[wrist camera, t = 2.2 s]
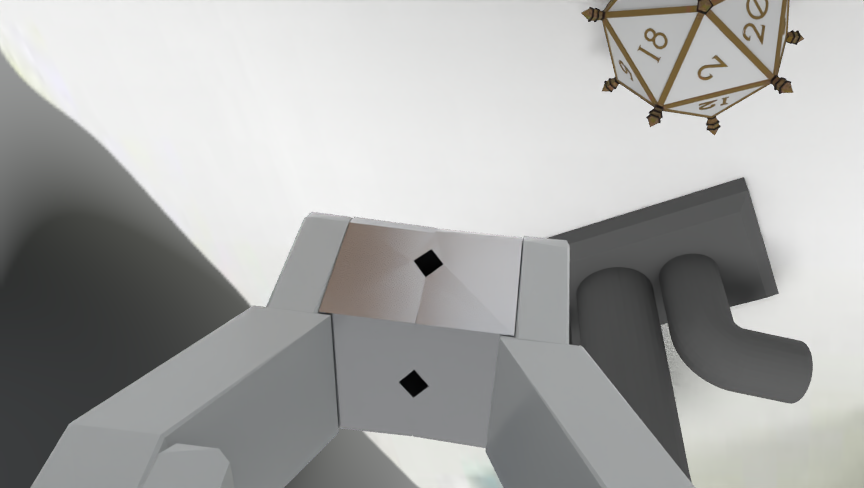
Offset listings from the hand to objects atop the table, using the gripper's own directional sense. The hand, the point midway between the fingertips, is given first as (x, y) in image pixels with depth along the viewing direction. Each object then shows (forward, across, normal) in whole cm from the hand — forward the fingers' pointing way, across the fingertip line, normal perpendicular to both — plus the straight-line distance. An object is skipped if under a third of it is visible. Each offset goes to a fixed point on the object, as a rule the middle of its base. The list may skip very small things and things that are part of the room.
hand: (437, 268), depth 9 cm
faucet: (+30, +9, -29) cm, 43 cm away
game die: (+29, +7, -7) cm, 31 cm away
